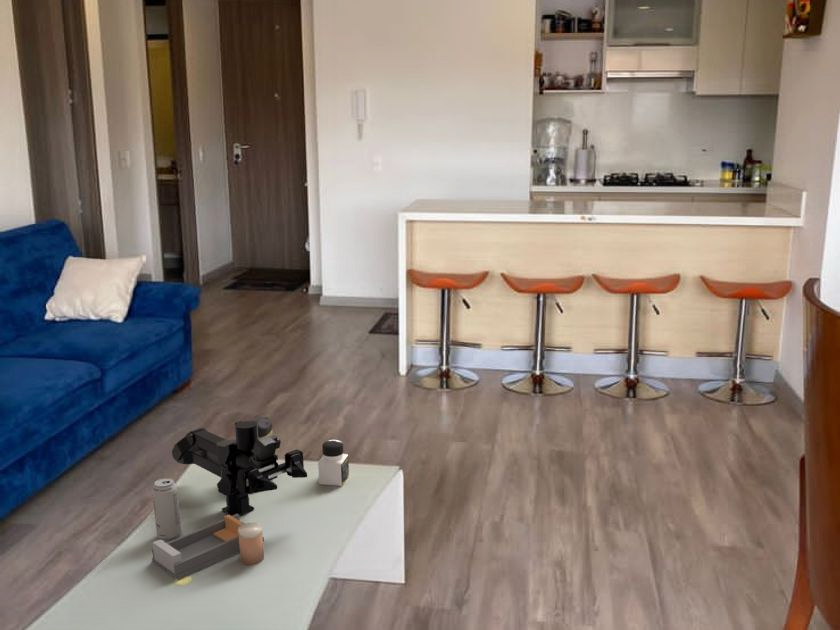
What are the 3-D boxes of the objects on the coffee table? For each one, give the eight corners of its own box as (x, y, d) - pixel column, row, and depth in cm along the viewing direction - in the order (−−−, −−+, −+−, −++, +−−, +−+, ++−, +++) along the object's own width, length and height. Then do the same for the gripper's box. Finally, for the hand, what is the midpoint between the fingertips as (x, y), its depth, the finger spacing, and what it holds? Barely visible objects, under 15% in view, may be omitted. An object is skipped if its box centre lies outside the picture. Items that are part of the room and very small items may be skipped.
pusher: (213, 535, 202) (212, 521, 201) (229, 528, 205) (228, 514, 204) (232, 546, 196) (231, 532, 195) (248, 539, 200) (247, 525, 199)
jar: (235, 559, 193) (233, 528, 191) (255, 550, 196) (253, 520, 195) (249, 567, 189) (246, 536, 187) (268, 558, 193) (266, 527, 191)
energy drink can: (158, 531, 206) (153, 478, 203) (182, 529, 207) (177, 475, 204) (155, 543, 200) (150, 488, 197) (180, 540, 202) (175, 486, 198)
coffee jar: (269, 486, 231) (265, 426, 227) (242, 485, 232) (238, 425, 228) (278, 472, 241) (275, 414, 237) (253, 471, 242) (249, 413, 237)
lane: (152, 561, 192) (150, 540, 191) (237, 525, 209) (235, 506, 208) (178, 579, 184) (175, 558, 183) (263, 540, 201) (262, 520, 200)
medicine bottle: (342, 486, 231) (340, 447, 228) (318, 484, 232) (317, 446, 229) (349, 476, 238) (347, 438, 235) (326, 474, 239) (324, 436, 236)
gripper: (221, 445, 198) (258, 462, 188) (282, 424, 211) (320, 439, 201) (224, 486, 201) (261, 505, 190) (284, 463, 214) (321, 480, 204)
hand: (291, 481), depth 196 cm, fingers open, 9 cm apart
